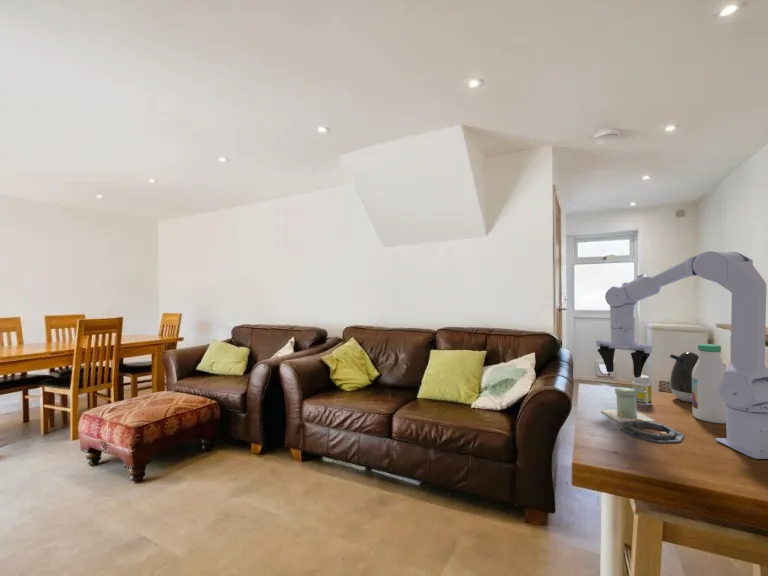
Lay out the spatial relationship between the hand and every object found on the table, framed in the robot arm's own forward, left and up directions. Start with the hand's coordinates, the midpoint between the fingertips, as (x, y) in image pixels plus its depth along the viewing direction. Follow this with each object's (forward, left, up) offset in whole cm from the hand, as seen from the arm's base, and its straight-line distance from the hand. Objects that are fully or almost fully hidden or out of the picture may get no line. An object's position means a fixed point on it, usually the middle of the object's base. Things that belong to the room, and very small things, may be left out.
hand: (623, 374), depth 106 cm
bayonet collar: (-17, +4, -10) cm, 20 cm away
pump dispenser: (+8, -25, -11) cm, 28 cm away
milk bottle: (-8, -18, -11) cm, 22 cm away
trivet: (-6, +3, -10) cm, 12 cm away
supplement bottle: (+6, -9, -11) cm, 15 cm away
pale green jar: (-6, +3, -10) cm, 12 cm away
